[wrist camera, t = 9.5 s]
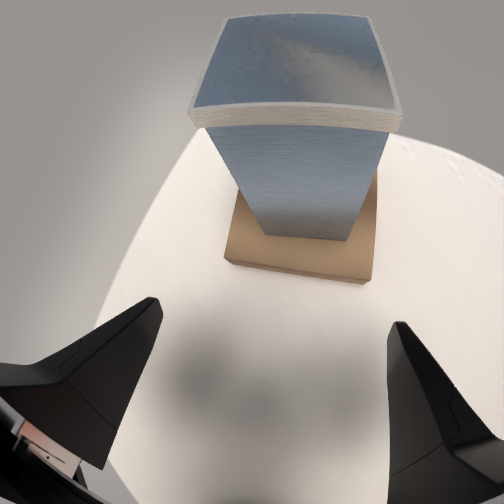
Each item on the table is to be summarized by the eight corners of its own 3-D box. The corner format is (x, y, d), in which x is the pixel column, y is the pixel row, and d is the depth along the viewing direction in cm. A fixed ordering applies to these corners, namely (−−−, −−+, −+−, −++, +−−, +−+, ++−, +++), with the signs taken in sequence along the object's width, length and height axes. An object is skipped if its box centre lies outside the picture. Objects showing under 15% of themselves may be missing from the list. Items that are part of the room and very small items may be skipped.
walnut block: (362, 285, 20) (370, 280, 17) (234, 265, 22) (223, 257, 19) (370, 168, 22) (376, 150, 19) (257, 155, 24) (251, 136, 21)
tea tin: (348, 243, 17) (403, 115, 6) (262, 236, 19) (187, 112, 7) (349, 167, 19) (370, 16, 7) (271, 162, 20) (225, 18, 8)
